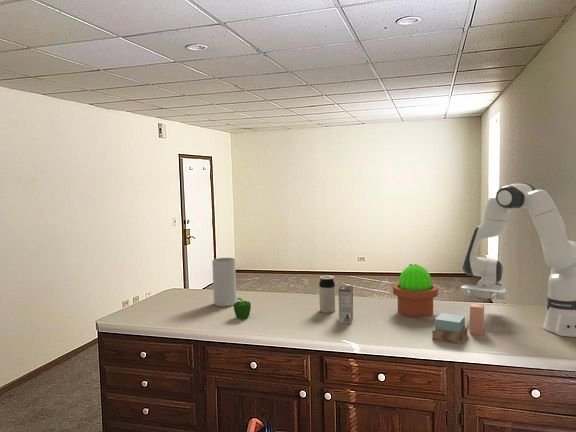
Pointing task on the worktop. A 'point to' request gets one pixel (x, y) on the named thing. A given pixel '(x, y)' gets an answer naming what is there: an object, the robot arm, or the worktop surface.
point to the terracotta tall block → (477, 319)
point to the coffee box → (345, 304)
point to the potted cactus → (415, 292)
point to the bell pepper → (242, 309)
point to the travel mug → (327, 294)
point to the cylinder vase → (224, 281)
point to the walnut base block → (450, 336)
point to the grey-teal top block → (450, 322)
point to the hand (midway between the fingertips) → (480, 296)
